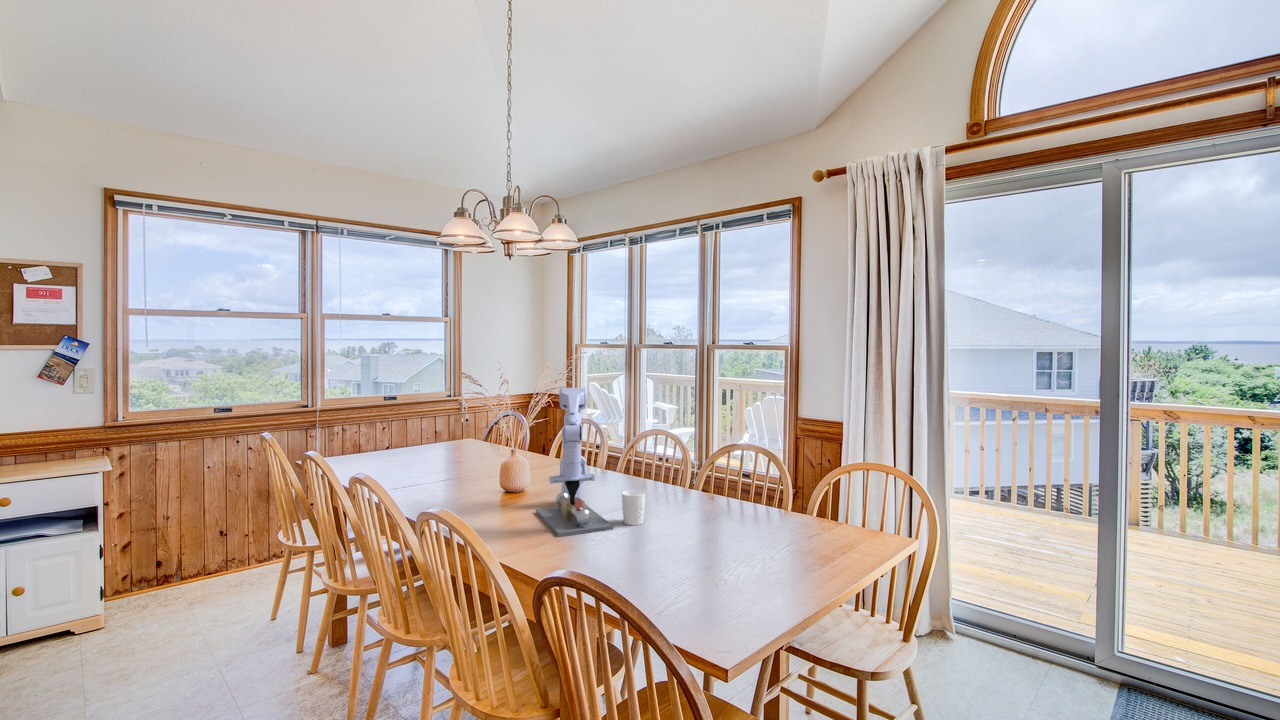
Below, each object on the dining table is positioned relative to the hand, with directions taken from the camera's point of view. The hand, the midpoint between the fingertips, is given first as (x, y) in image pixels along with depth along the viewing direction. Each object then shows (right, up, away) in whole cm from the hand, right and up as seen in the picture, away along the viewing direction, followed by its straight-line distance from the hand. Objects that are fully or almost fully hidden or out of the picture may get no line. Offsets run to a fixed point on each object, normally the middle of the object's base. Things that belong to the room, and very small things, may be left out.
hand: (572, 504), depth 186 cm
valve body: (-1, -6, +8) cm, 10 cm away
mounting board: (-1, -8, +8) cm, 11 cm away
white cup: (+20, -8, +6) cm, 22 cm away
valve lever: (+1, -1, +4) cm, 4 cm away
